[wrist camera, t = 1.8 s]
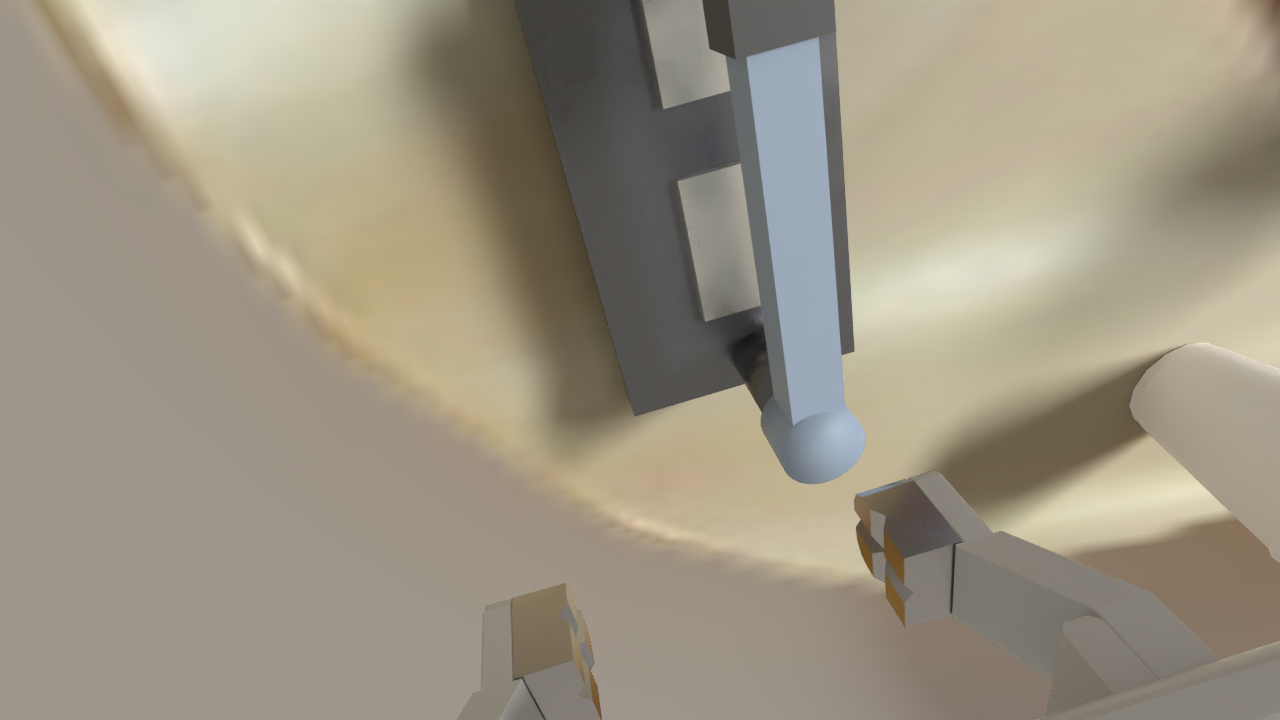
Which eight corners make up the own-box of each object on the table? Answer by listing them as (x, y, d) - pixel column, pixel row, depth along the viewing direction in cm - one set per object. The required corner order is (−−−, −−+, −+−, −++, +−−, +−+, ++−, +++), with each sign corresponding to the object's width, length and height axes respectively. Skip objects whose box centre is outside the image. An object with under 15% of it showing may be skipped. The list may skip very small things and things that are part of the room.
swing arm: (839, 431, 31) (868, 471, 28) (765, 454, 31) (787, 495, 28) (795, -128, 19) (837, -141, 17) (677, -97, 19) (701, -105, 17)
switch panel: (451, -220, 22) (436, -277, 17) (796, -308, 23) (887, -391, 17) (629, 400, 36) (652, 475, 31) (841, 337, 36) (900, 400, 31)
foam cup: (1085, 449, 45) (1277, 608, 34) (1141, 325, 40) (1386, 463, 29) (1205, 436, 46) (1426, 584, 35) (1273, 316, 42) (1552, 443, 30)
